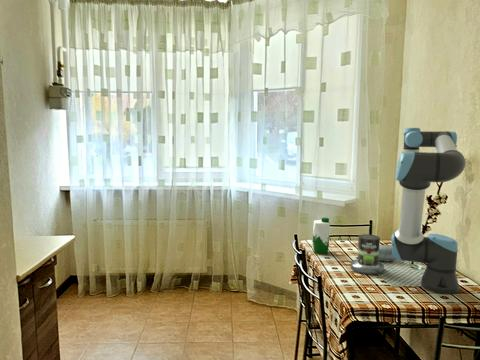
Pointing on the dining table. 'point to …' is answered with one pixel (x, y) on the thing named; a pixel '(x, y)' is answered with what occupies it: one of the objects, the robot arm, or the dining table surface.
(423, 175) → the robot arm
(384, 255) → the gray rounded cylinder
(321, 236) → the milk carton
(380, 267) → the plate
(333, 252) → the dining table surface
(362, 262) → the coffee can
